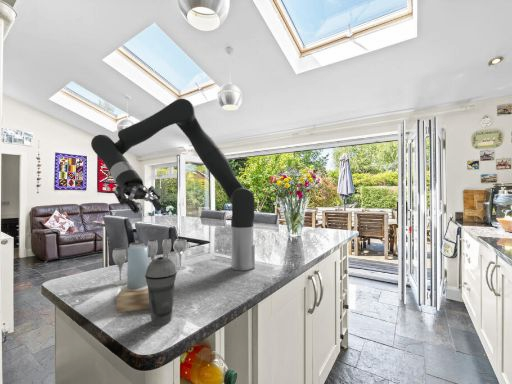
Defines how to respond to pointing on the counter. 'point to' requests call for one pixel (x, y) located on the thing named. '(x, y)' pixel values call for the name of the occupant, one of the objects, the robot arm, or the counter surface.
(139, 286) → the pale blue domed cylinder
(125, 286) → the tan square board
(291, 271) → the counter surface
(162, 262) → the beverage cup
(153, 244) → the goblet set
